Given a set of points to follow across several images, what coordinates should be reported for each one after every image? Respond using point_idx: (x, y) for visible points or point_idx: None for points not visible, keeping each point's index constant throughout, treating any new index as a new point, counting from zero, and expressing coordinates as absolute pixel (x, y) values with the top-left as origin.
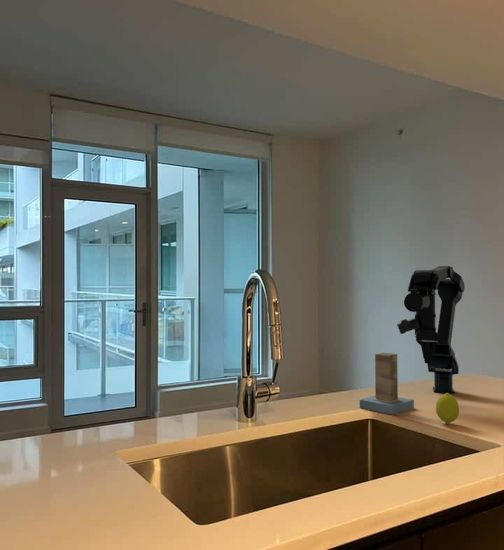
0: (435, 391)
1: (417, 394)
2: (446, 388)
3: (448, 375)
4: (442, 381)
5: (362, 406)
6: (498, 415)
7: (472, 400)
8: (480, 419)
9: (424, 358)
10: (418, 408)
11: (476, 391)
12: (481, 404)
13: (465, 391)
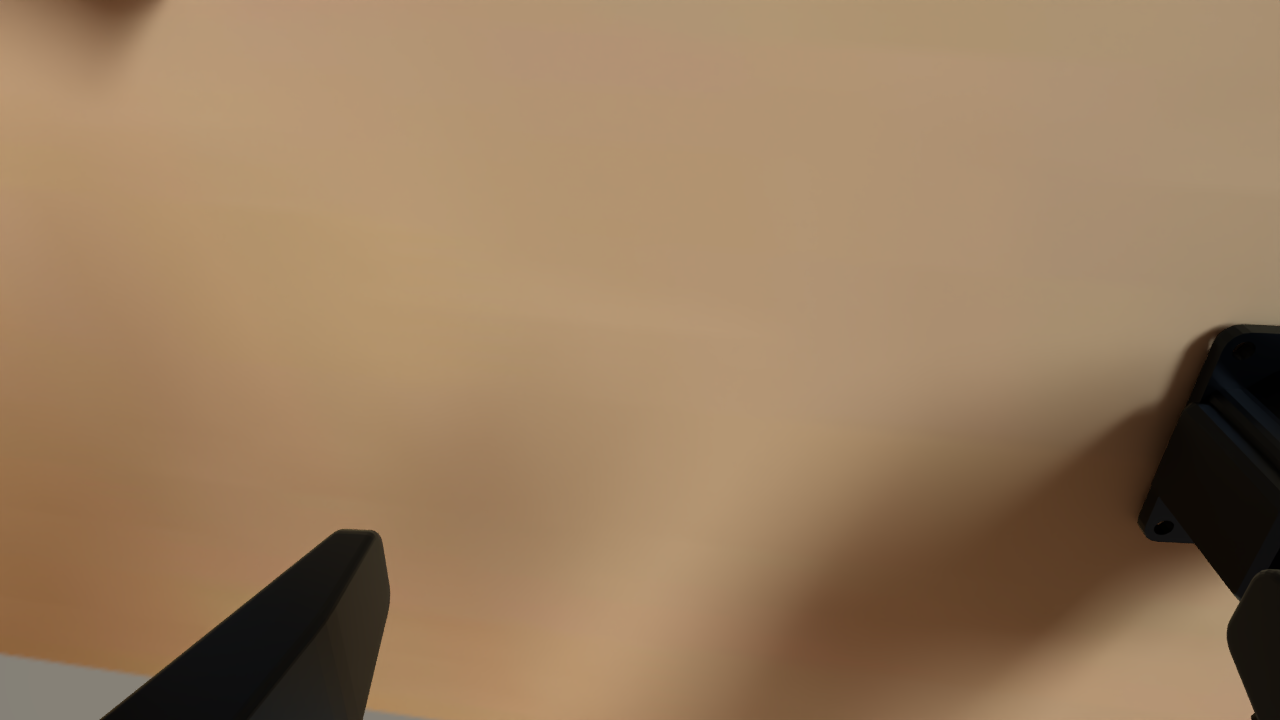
0: (1216, 348)
1: (1115, 91)
2: (1173, 491)
3: None
4: (1246, 513)
5: None
6: None
7: (801, 618)
8: (49, 565)
9: (231, 626)
10: (199, 44)
11: (1233, 703)
12: (640, 653)
13: None
